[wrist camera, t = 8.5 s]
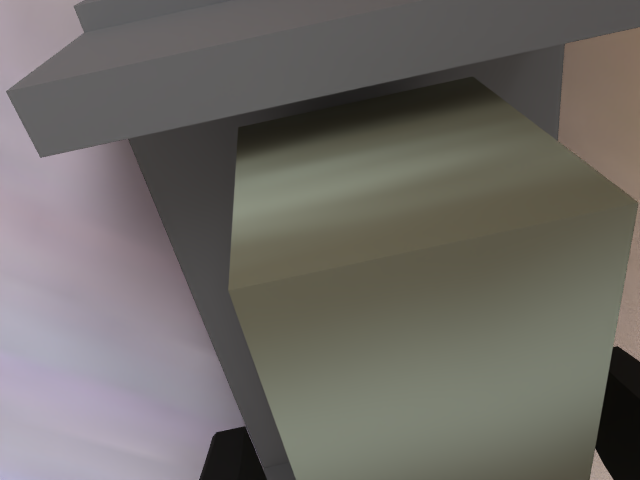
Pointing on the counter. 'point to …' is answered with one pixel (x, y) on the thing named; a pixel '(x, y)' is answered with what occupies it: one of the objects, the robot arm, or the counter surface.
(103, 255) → the counter surface
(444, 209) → the olive green rectangular block
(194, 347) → the counter surface
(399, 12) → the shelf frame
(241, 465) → the robot arm
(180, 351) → the counter surface
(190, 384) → the counter surface
